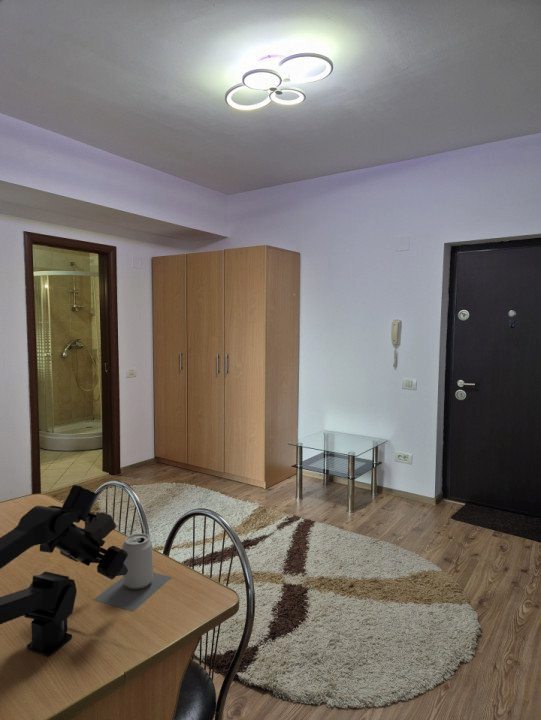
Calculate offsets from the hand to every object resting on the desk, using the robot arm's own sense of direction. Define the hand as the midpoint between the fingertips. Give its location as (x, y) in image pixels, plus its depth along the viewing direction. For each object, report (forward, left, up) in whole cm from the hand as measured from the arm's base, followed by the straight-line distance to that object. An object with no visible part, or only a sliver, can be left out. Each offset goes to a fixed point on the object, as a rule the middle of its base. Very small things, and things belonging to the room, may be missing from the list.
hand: (114, 566), depth 115 cm
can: (+7, -1, -8) cm, 11 cm away
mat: (+5, -1, -9) cm, 10 cm away
